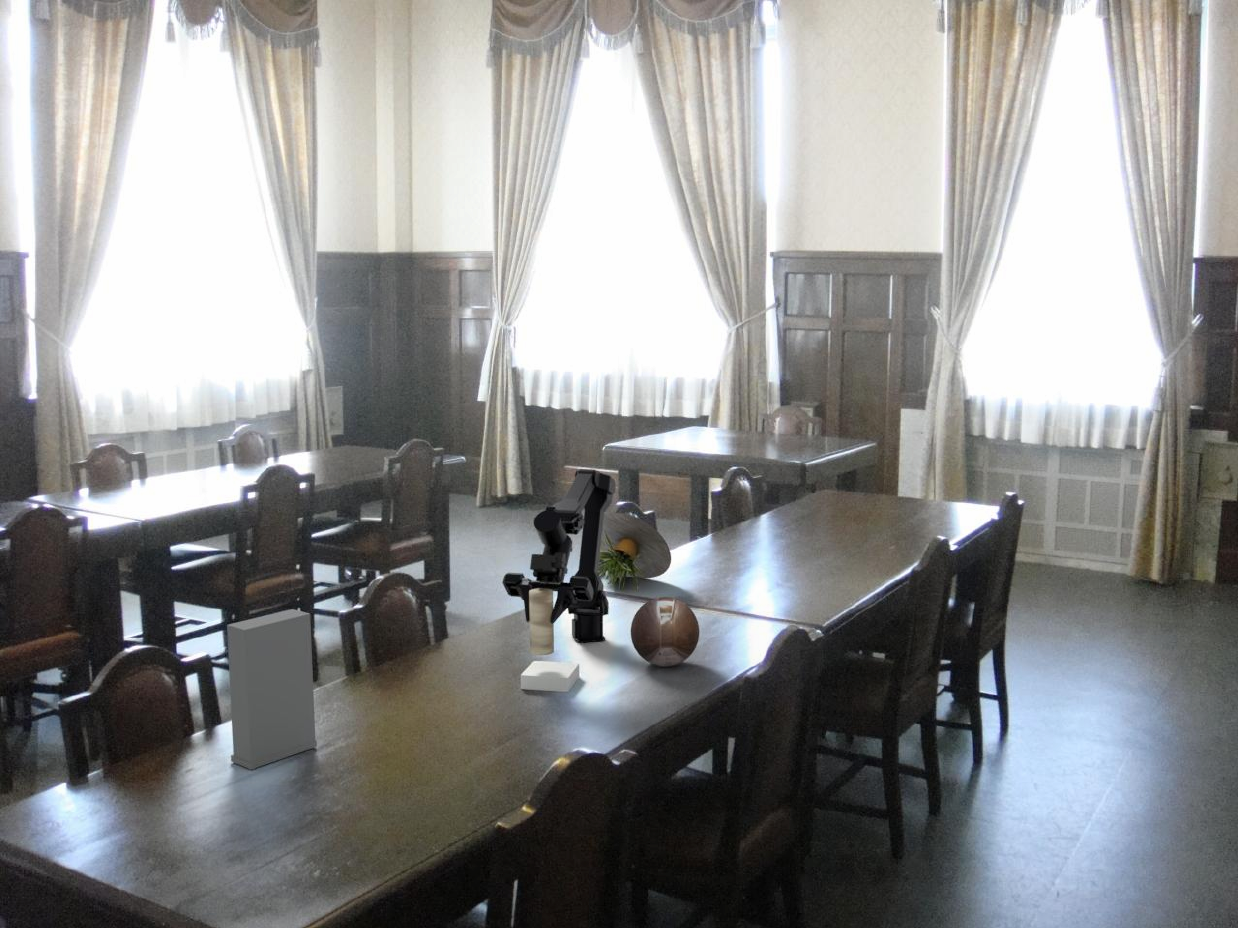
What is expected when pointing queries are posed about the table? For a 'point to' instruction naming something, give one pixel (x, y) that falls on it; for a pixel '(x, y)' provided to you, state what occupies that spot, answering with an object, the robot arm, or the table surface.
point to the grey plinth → (550, 676)
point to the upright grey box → (271, 687)
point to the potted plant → (632, 548)
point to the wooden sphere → (665, 631)
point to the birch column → (541, 621)
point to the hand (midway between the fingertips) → (539, 621)
